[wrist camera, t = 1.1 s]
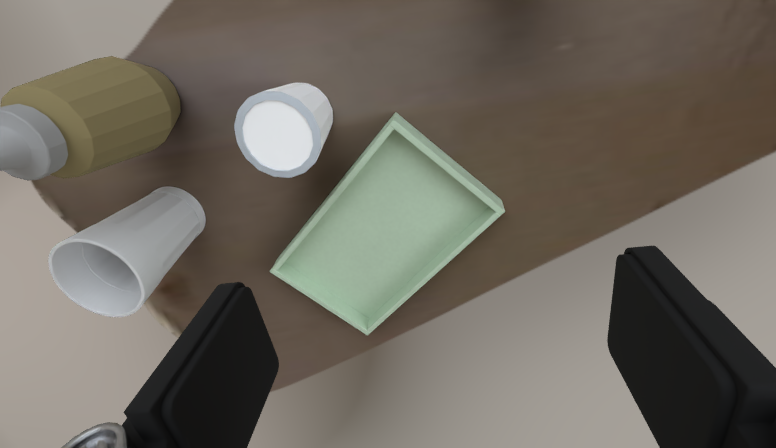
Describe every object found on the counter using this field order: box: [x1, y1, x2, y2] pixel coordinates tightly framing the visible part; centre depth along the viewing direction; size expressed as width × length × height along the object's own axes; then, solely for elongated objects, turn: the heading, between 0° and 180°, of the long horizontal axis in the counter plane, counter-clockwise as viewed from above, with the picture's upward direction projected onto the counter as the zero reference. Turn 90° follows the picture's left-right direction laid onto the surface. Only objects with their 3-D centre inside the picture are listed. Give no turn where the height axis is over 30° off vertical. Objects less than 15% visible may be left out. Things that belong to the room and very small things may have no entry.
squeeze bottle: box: [0, 56, 180, 180], centre depth 30 cm, size 8×8×18 cm
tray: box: [270, 112, 505, 335], centre depth 41 cm, size 21×13×2 cm, turn 142°
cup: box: [48, 186, 206, 317], centre depth 39 cm, size 8×8×12 cm
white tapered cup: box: [234, 83, 333, 178], centre depth 34 cm, size 7×7×7 cm
